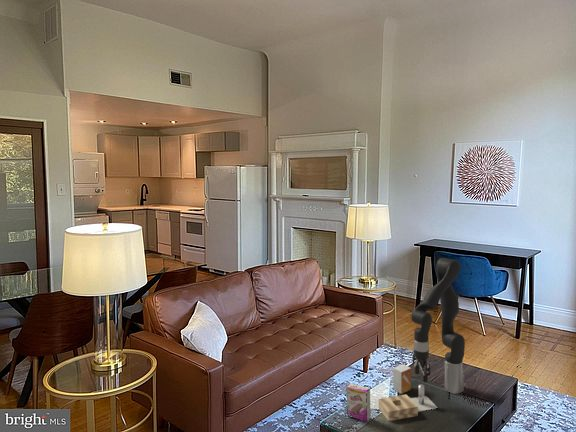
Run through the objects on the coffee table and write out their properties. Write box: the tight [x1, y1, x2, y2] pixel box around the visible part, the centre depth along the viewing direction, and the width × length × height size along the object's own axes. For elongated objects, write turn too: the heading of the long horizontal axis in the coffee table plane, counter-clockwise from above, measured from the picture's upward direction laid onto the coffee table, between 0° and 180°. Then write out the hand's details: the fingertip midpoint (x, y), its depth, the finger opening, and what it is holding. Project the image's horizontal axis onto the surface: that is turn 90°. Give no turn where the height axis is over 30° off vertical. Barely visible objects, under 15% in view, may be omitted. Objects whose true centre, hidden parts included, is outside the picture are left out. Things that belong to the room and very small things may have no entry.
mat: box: [409, 395, 439, 413], centre depth 229 cm, size 12×12×1 cm
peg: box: [417, 383, 425, 405], centre depth 229 cm, size 3×3×10 cm
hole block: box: [378, 394, 419, 422], centre depth 223 cm, size 16×12×5 cm
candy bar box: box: [346, 382, 371, 423], centre depth 219 cm, size 11×5×16 cm, turn 59°
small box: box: [392, 363, 412, 395], centre depth 244 cm, size 8×6×13 cm
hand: (421, 377), depth 228 cm, fingers open, 8 cm apart
